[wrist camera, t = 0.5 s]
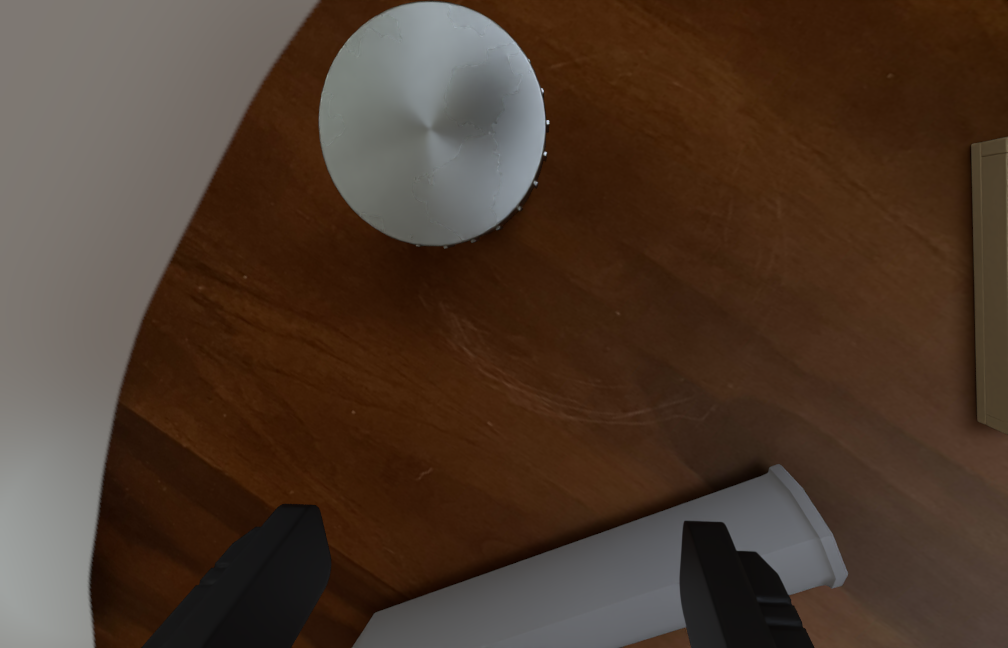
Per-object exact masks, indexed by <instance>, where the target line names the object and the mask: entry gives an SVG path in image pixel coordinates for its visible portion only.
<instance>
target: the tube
mask: <svg viewBox="0 0 1008 648" xmlns="http://www.w3.org/2000/svg"><path fill="white" fill-rule="evenodd" d="M684 521H710V522H723V523H724V524H725V525H726V527H727V529H728V531H729V534H730V536H731V538H732V541H733V543H734V546H735V548H736V550H737V551H755V552H757V553H758V554H759V555H760V556H761V557H762V558H763V559H764V560H765V561H766V562H767V563H768V564H769V565H770V566H771V567H772V568H773V569H774V570H775V571H776V572H777V573H778V575H779V577H780V579H781V581H782V583H783V585H784V587H785V589H786V591H787V593H788V595H791V594H794V593H798V592H801V591H804V590H807V589H811V588H814V587H817V586H822V585H827V586H829V587H830V588H835V587H839V586H842V585H843V583H844V581H845V579H846V577H847V575H848V572H847V570H846V567H845V565H844V562H843V559H842V557H841V554H840V552H839V549H838V547H837V544H836V541H835V539H834V536H833V534H832V532H831V531H830V529H829V528H828V526H827V525H826V523H825V522H824V520H823V518H822V517H821V515H820V514H819V512H818V511H817V509H816V508H815V506H814V505H813V503H812V502H811V500H810V499H809V497H808V496H807V494H806V492H805V491H804V489H803V488H802V487H801V486H800V485H799V484H798V483H797V482H796V480H795V479H794V478H793V477H792V476H791V475H790V474H789V473H788V472H787V471H786V470H785V469H784V468H783V467H782V466H781V465H780V464H777V465H774V466H772V467H769V471H768V473H767V474H764V475H762V476H760V477H757V478H754V479H751V480H749V481H746V482H743V483H740V484H737V485H735V486H732V487H729V488H726V489H723V490H720V491H718V492H715V493H712V494H709V495H706V496H703V497H701V498H698V499H695V500H692V501H689V502H686V503H684V504H681V505H678V506H675V507H672V508H670V509H667V510H664V511H661V512H658V513H655V514H653V515H650V516H647V517H644V518H641V519H638V520H636V521H633V522H630V523H627V524H624V525H621V526H619V527H616V528H613V529H610V530H607V531H605V532H602V533H599V534H596V535H593V536H590V537H588V538H585V539H582V540H579V541H576V542H573V543H571V544H568V545H565V546H562V547H559V548H556V549H554V550H551V551H548V552H545V553H542V554H540V555H537V556H534V557H531V558H528V559H525V560H523V561H520V562H517V563H514V564H511V565H508V566H506V567H503V568H500V569H497V570H494V571H492V572H489V573H486V574H483V575H480V576H477V577H475V578H472V579H469V580H466V581H463V582H460V583H458V584H455V585H452V586H449V587H446V588H443V589H441V590H438V591H435V592H432V593H429V594H427V595H424V596H421V597H418V598H415V599H412V600H410V601H407V602H404V603H401V604H398V605H395V606H393V607H390V608H387V609H384V610H381V611H378V612H376V613H374V615H373V616H372V618H371V619H370V621H369V622H368V624H367V626H366V627H365V629H364V630H363V632H362V633H361V635H360V636H359V638H358V639H357V641H356V642H355V644H354V646H353V647H352V648H620V647H623V646H626V645H629V644H633V643H636V642H639V641H642V640H645V639H649V638H652V637H655V636H658V635H662V634H665V633H668V632H671V631H675V630H678V629H681V628H684V627H686V624H685V619H684V615H683V611H682V605H681V598H680V585H679V577H680V561H681V546H682V530H683V523H684Z"/></svg>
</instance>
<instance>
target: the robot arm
mask: <svg viewBox="0 0 1008 648" xmlns="http://www.w3.org/2000/svg"><path fill="white" fill-rule="evenodd" d="M330 571H331V555H330V551H329V546H328V542H327V538H326V533H325V529H324V525H323V520H322V516H321V512H320V510H319V508H318V507H317V506H316V505H303V504H282V505H280V506H279V507H278V508H277V509H276V510H275V511H274V512H273V513H272V515H271V516H270V517H269V518H268V519H267V521H266V522H265V523H264V524H263V525H262V526H261V527H255V528H254V529H252V530H251V531H250V532H248V533H247V534H245V535H244V536H243V537H241V538H240V539H238V540H237V541H236V542H234V543H233V544H232V545H231V546H230V547H229V548H228V550H227V551H226V552H225V553H224V554H223V555H222V556H221V558H220V559H219V560H218V561H217V562H216V563H215V567H214V568H211V569H210V570H209V571H208V572H207V573H206V575H205V576H204V577H203V578H202V579H201V580H200V584H199V585H196V586H195V587H194V588H193V589H192V591H191V592H190V593H189V594H188V595H187V596H186V597H185V599H184V600H183V601H182V602H181V603H180V604H179V605H178V607H177V608H176V609H175V610H174V611H173V612H172V613H171V615H170V616H169V617H168V618H167V619H166V620H165V621H164V623H163V624H162V625H161V626H160V627H159V628H158V629H157V631H156V632H155V633H154V634H153V635H152V636H151V637H150V639H149V640H148V641H147V642H146V643H145V644H144V645H143V646H142V648H291V647H292V645H293V643H294V642H295V640H296V638H297V636H298V635H299V633H300V631H301V629H302V628H303V626H304V624H305V622H306V621H307V619H308V617H309V615H310V614H311V612H312V610H313V608H314V607H315V605H316V603H317V601H318V600H319V598H320V596H321V594H322V593H323V591H324V589H325V587H326V585H327V583H328V580H329V576H330ZM679 585H680V598H681V605H682V611H683V615H684V619H685V624H686V628H687V632H688V636H689V640H690V644H691V648H814V646H813V644H812V642H811V640H810V638H809V636H808V633H807V631H806V629H805V628H803V626H802V621H801V619H800V617H799V615H798V613H797V611H796V609H795V607H794V606H793V605H792V604H791V599H790V597H789V595H788V593H787V591H786V589H785V587H784V585H783V583H782V581H781V579H780V577H779V575H778V573H777V572H776V571H775V570H774V569H773V568H772V567H771V566H770V565H769V564H768V563H767V562H766V561H765V560H764V559H763V558H762V557H761V556H760V555H759V554H758V553H757V552H755V551H737V550H736V548H735V546H734V543H733V541H732V538H731V536H730V534H729V531H728V529H727V527H726V525H725V524H724V523H723V522H710V521H684V523H683V530H682V546H681V561H680V577H679Z"/></svg>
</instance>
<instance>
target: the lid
mask: <svg viewBox="0 0 1008 648" xmlns="http://www.w3.org/2000/svg"><path fill="white" fill-rule="evenodd" d="M548 132H549V120H546V112H545V103H544V90H543V88H541V87H540V84H539V81H538V79H537V76H536V73H535V71H534V69H533V67H532V65H531V61H530V60H529V59H528V58H527V56H526V55H525V53H524V52H523V50H522V49H521V48H520V46H519V45H518V43H517V42H516V41H515V40H514V39H513V38H512V37H511V36H510V35H509V34H508V33H507V32H506V31H505V30H504V29H503V28H502V27H500V26H499V25H498V24H497V23H495V22H494V21H493V20H491V19H489V18H488V17H486V16H484V15H483V14H481V13H479V12H477V11H475V10H472V9H470V8H467V7H465V6H461V5H457V4H453V3H449V2H440V1H419V2H413V3H408V4H403V5H400V6H397V7H394V8H391V9H388V10H386V11H384V12H383V13H381V14H379V15H377V16H375V17H373V18H372V19H371V20H369V21H368V22H366V23H365V24H364V25H362V26H361V27H360V28H359V29H358V30H357V31H356V32H355V33H354V34H353V35H352V36H351V37H350V38H349V39H348V40H347V42H346V43H345V44H344V45H343V47H342V48H341V49H340V51H339V53H338V54H337V56H336V58H335V59H334V61H333V63H332V65H331V67H330V70H329V72H328V74H327V77H326V80H325V83H324V86H323V90H322V94H321V100H320V106H319V135H320V143H321V148H322V153H323V157H324V160H325V163H326V166H327V169H328V172H329V174H330V176H331V178H332V180H333V182H334V184H335V186H336V188H337V189H338V191H339V192H340V194H341V196H342V197H343V198H344V200H345V201H346V202H347V203H348V205H349V206H350V207H351V208H352V209H353V210H354V211H355V212H356V213H357V214H358V215H359V216H360V217H361V218H362V219H363V220H364V221H366V222H367V223H368V224H370V225H371V226H372V227H374V228H375V229H377V230H379V231H380V232H382V233H384V234H386V235H387V236H389V237H391V238H395V239H397V240H400V241H403V242H407V243H411V244H415V245H416V246H418V247H421V246H444V248H450V247H453V246H455V244H459V243H463V242H467V241H470V240H471V243H474V242H477V241H480V237H482V236H485V235H487V234H489V233H491V232H493V231H494V230H496V229H497V230H501V229H503V228H504V227H503V226H502V225H503V224H505V223H506V222H507V221H508V220H510V219H511V218H512V217H513V216H514V215H515V214H516V213H517V212H518V211H520V212H521V211H522V210H523V208H522V206H523V204H524V203H525V202H526V200H527V199H528V198H529V196H530V194H531V192H532V190H533V189H534V188H536V189H537V187H538V182H537V180H538V177H539V175H540V172H541V168H542V164H543V161H545V162H546V160H547V152H545V147H546V133H548Z"/></svg>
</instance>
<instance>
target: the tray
mask: <svg viewBox="0 0 1008 648" xmlns="http://www.w3.org/2000/svg"><path fill="white" fill-rule="evenodd" d="M971 161H972V207H973V253H974V299H975V344H976V390H977V421H978V422H980V423H983V424H985V425H987V426H989V427H992V428H994V429H996V430H998V431H1000V432H1003V433H1005V434H1007V435H1008V137H1004V138H999V139H994V140H990V141H985V142H980V143H975V144H972V145H971Z"/></svg>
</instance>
